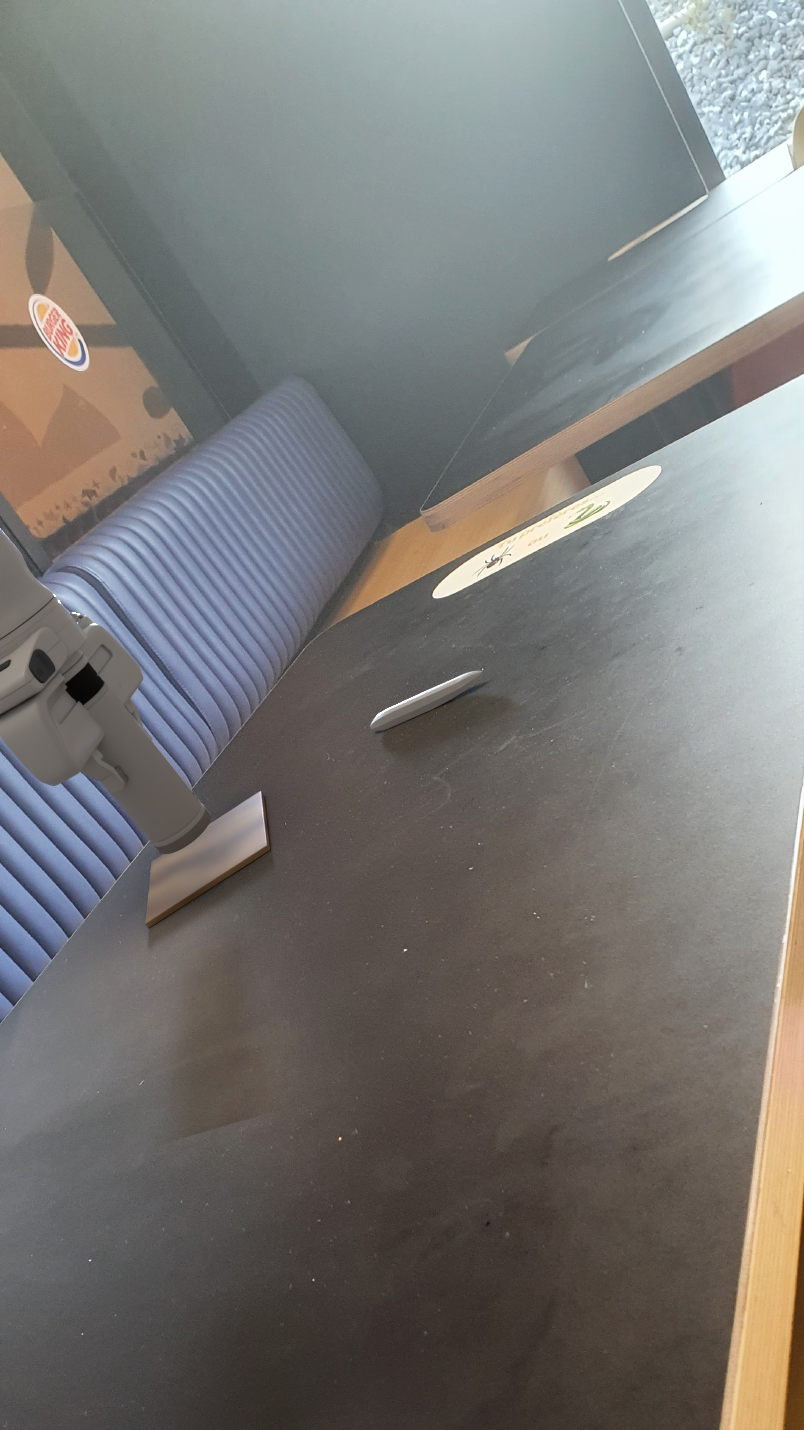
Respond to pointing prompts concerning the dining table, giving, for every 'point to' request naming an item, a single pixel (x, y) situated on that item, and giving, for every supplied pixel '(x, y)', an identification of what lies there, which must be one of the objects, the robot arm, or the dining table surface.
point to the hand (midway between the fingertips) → (133, 767)
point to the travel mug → (141, 769)
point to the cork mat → (208, 858)
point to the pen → (424, 701)
